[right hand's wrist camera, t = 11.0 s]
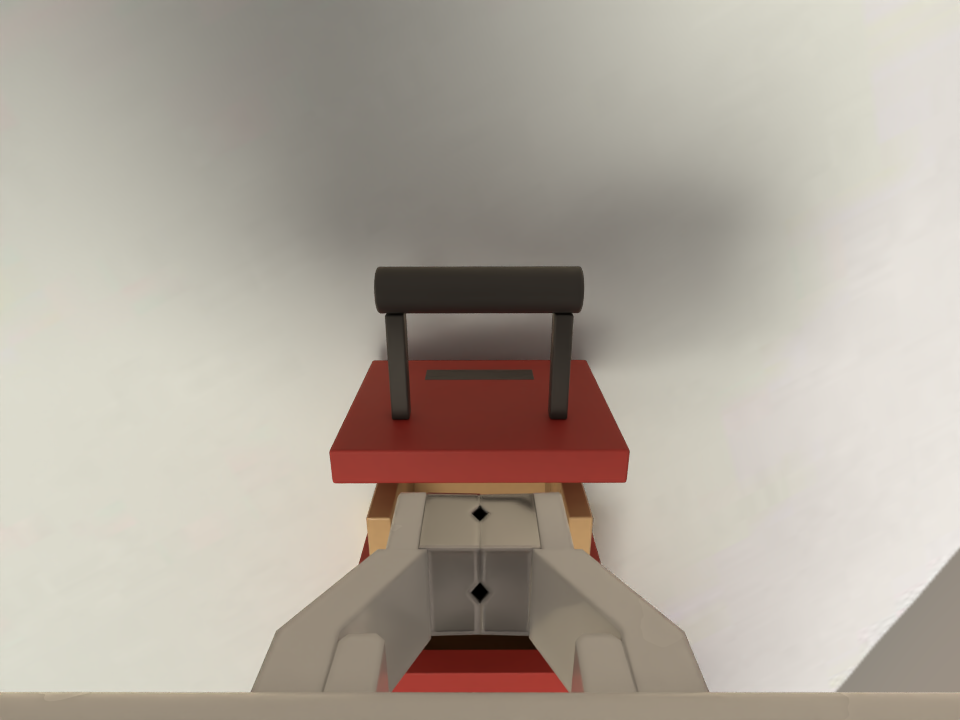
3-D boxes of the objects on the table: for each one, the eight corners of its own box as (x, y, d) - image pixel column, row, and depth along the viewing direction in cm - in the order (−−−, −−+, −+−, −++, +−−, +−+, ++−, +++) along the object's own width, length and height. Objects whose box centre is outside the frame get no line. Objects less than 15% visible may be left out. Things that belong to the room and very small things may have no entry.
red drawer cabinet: (375, 503, 28) (326, 673, 19) (584, 503, 28) (633, 672, 19) (395, 744, 34) (365, 955, 25) (565, 743, 34) (595, 955, 25)
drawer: (363, 238, 22) (309, 285, 15) (595, 238, 22) (649, 284, 15) (394, 642, 30) (368, 797, 23) (566, 642, 30) (592, 796, 23)
